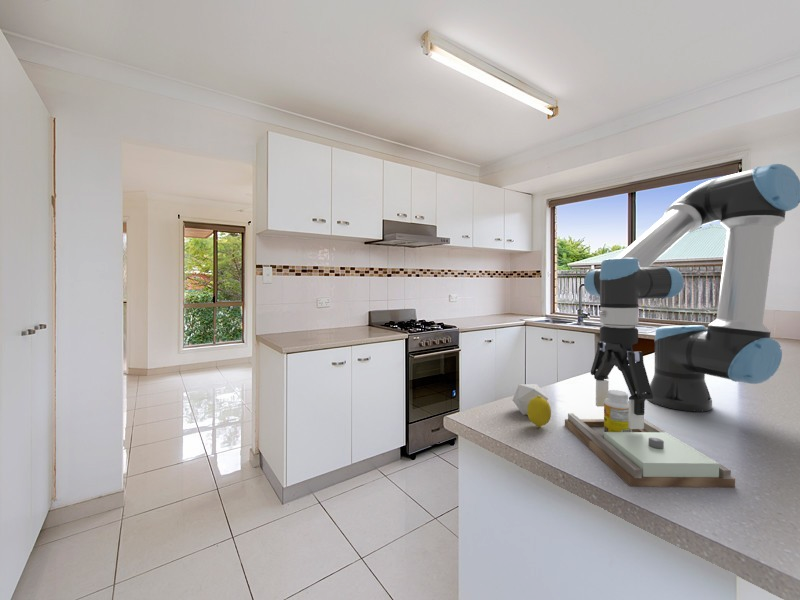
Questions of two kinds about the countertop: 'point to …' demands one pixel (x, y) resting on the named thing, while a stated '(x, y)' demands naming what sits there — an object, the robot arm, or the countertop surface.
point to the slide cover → (662, 455)
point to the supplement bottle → (616, 412)
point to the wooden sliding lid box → (626, 469)
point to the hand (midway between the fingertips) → (617, 416)
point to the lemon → (539, 411)
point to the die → (526, 396)
